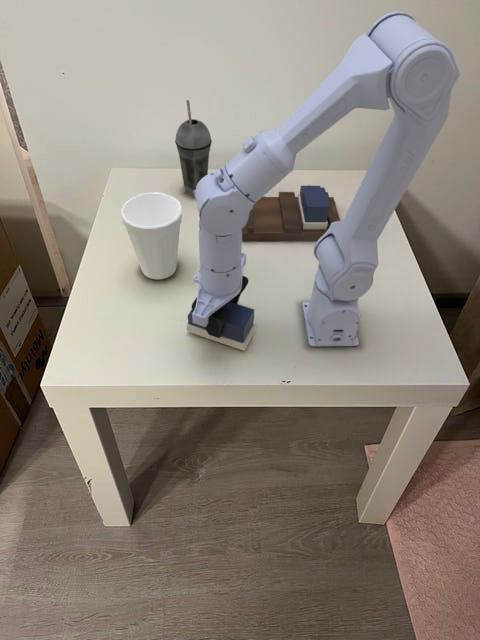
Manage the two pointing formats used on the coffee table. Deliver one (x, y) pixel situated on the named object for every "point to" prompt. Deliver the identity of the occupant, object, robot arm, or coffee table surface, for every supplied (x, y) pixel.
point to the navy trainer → (230, 327)
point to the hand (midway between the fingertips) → (221, 324)
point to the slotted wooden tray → (282, 220)
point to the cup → (154, 231)
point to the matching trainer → (313, 207)
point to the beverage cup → (193, 151)
